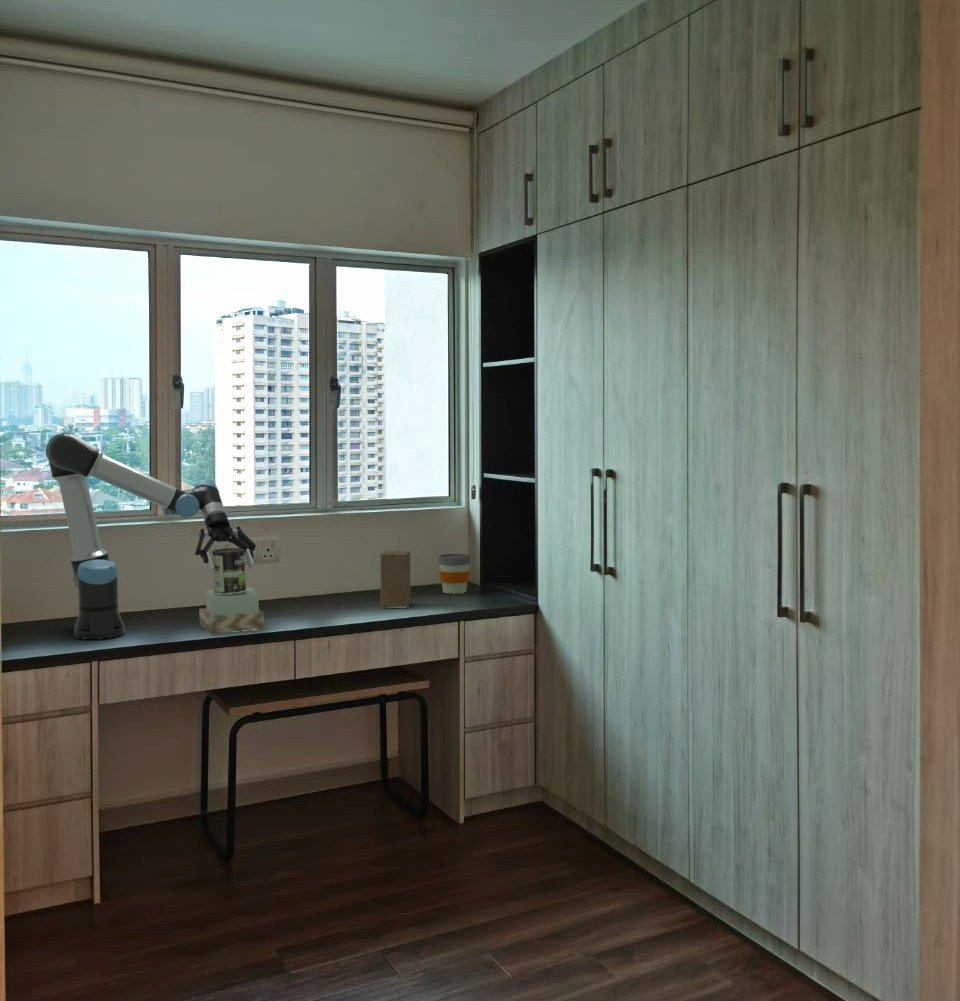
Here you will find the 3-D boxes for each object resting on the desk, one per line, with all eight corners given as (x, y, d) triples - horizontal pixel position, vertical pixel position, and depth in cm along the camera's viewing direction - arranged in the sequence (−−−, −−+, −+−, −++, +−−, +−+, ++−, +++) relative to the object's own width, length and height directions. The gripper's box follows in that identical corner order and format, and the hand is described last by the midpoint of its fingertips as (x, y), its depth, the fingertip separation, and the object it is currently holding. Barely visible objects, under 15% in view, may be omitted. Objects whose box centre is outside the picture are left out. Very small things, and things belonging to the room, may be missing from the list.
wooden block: (408, 608, 367) (407, 554, 365) (380, 608, 367) (380, 554, 365) (410, 603, 377) (410, 550, 375) (383, 603, 377) (383, 550, 375)
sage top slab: (211, 616, 326) (211, 597, 325) (206, 608, 340) (205, 590, 339) (258, 612, 331) (258, 594, 331) (251, 605, 345) (251, 587, 344)
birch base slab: (212, 636, 324) (211, 617, 323) (199, 626, 339) (199, 608, 338) (264, 630, 332) (263, 612, 331) (249, 621, 347) (249, 604, 346)
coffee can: (251, 589, 338) (249, 547, 337) (238, 595, 328) (235, 552, 327) (222, 589, 340) (220, 547, 339) (208, 595, 330) (206, 552, 329)
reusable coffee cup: (438, 591, 404) (438, 553, 403) (469, 590, 405) (469, 553, 403) (439, 596, 391) (438, 558, 390) (471, 596, 392) (471, 558, 391)
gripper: (248, 523, 352) (265, 571, 341) (176, 528, 338) (192, 578, 327) (253, 509, 347) (271, 558, 336) (181, 513, 333) (196, 564, 322)
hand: (232, 568), depth 331 cm, fingers open, 13 cm apart
